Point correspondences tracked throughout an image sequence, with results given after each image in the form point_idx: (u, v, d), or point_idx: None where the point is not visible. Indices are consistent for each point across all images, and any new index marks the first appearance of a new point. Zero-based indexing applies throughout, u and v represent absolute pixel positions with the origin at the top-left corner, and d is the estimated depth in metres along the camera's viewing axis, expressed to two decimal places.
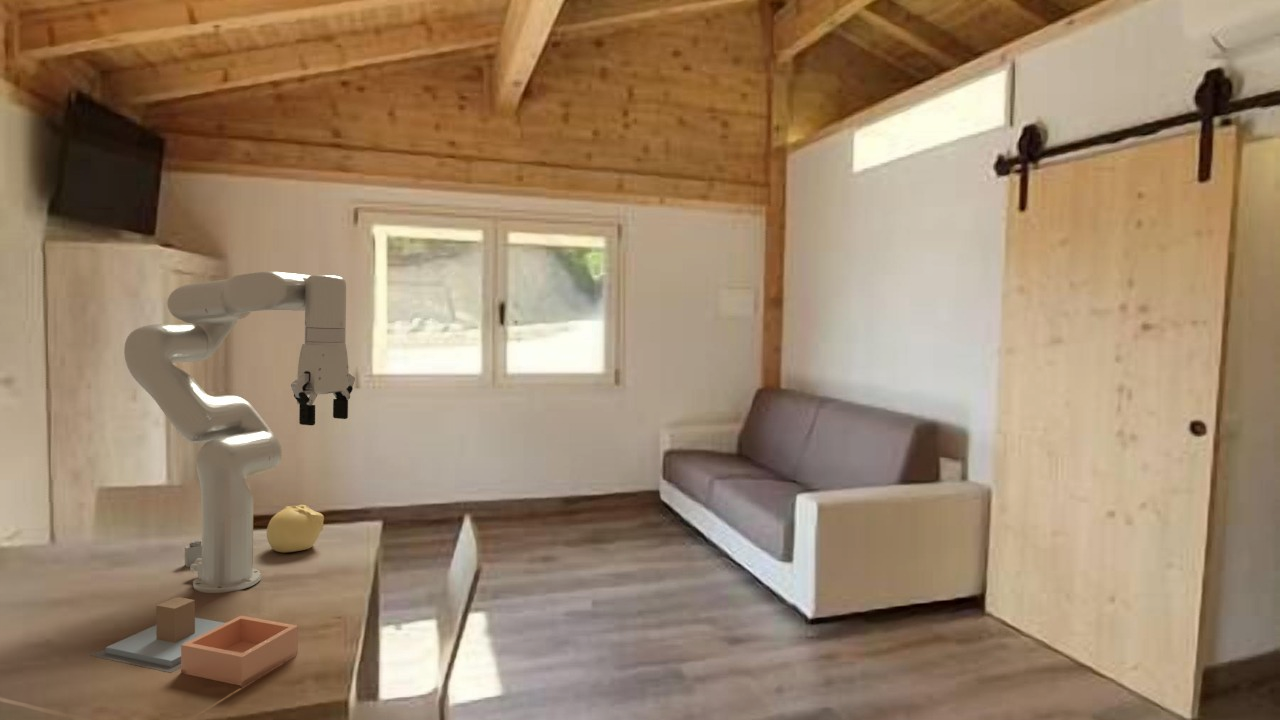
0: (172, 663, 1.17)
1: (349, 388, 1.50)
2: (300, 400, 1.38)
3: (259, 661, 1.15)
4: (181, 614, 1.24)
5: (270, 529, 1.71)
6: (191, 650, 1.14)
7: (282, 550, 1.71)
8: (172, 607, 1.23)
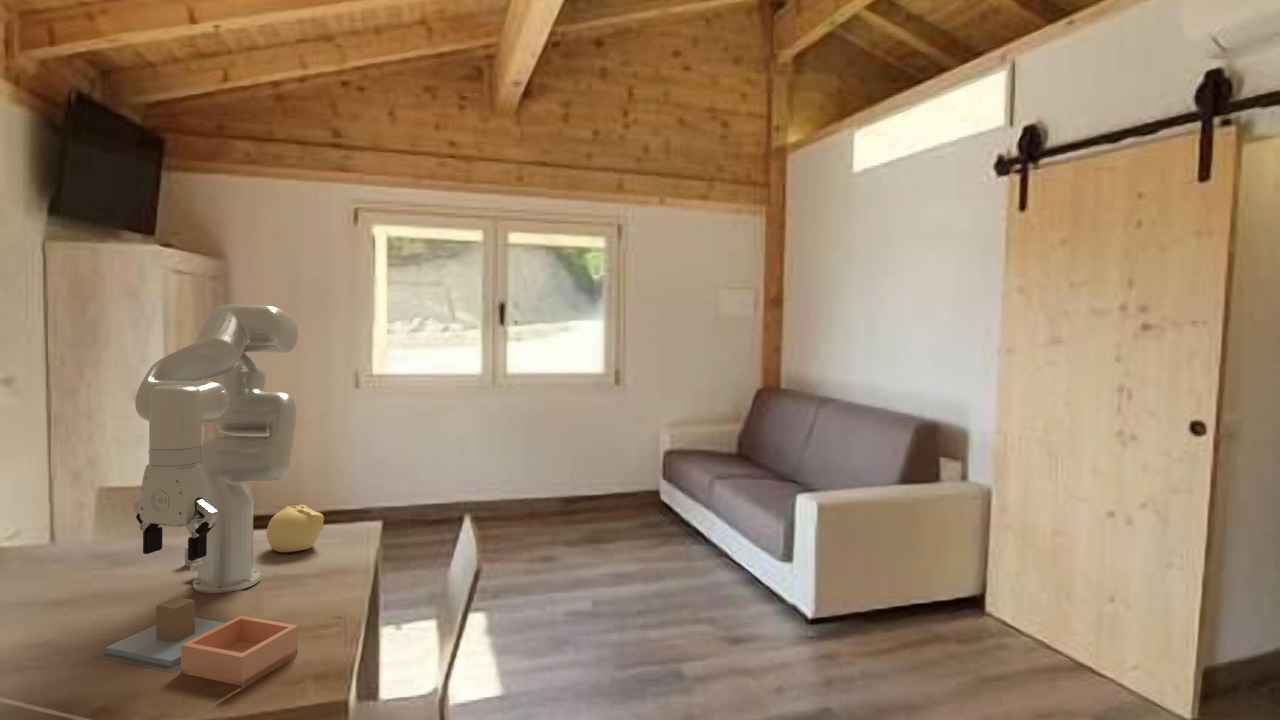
0: (172, 663, 1.17)
1: None
2: (206, 530, 1.22)
3: (259, 661, 1.15)
4: (181, 614, 1.24)
5: (270, 529, 1.71)
6: (191, 650, 1.14)
7: (282, 550, 1.71)
8: (172, 607, 1.23)
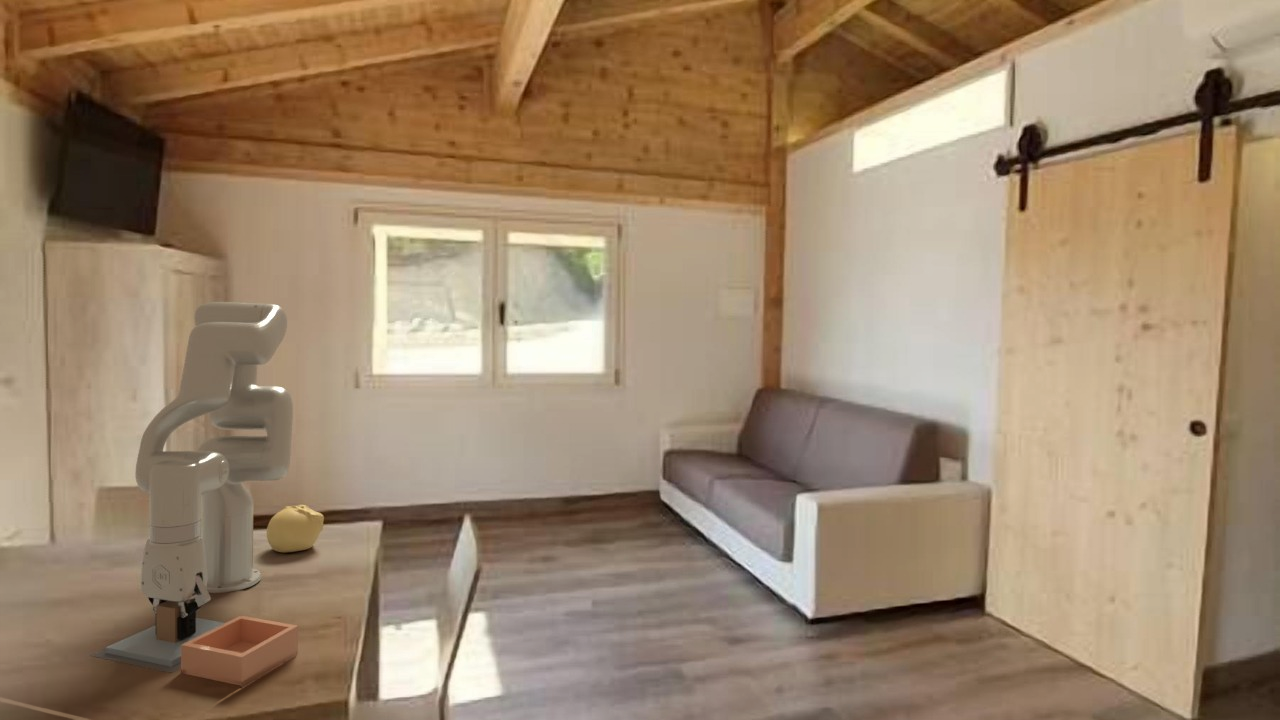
0: (172, 663, 1.17)
1: None
2: (195, 610, 1.24)
3: (259, 661, 1.15)
4: None
5: (270, 529, 1.71)
6: (191, 650, 1.14)
7: (282, 550, 1.71)
8: (172, 607, 1.23)
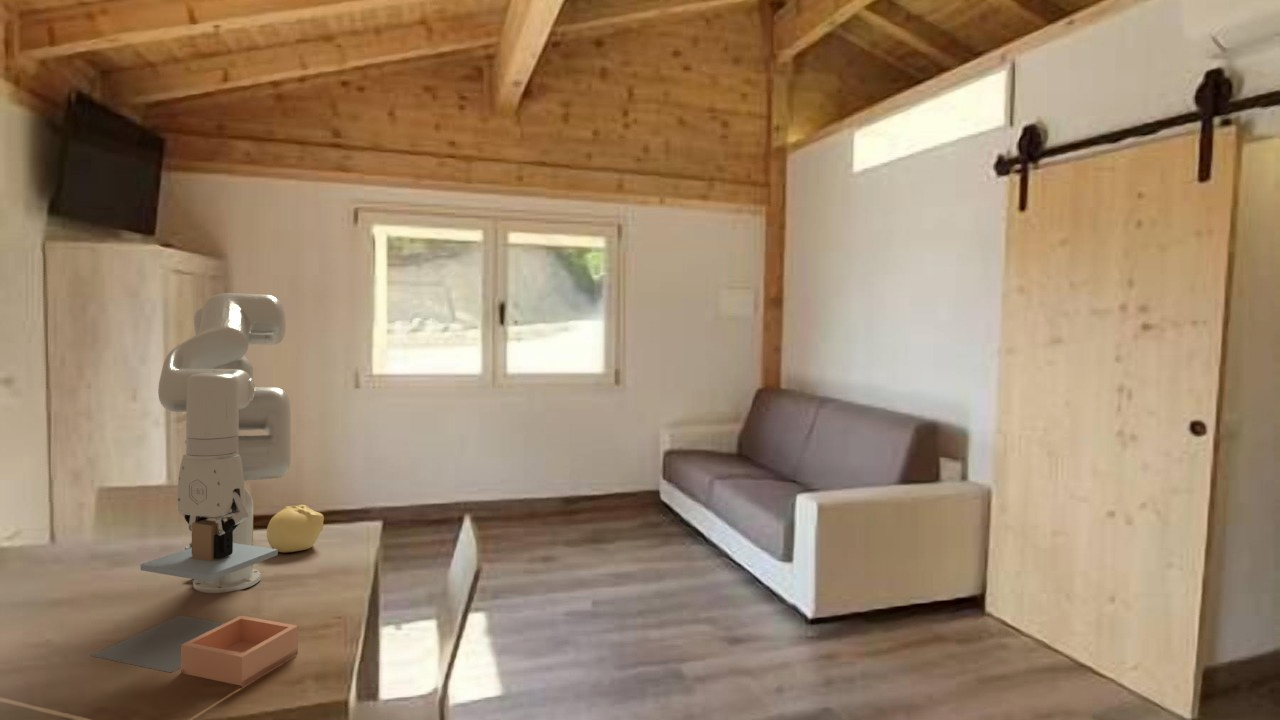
0: (209, 578, 1.12)
1: None
2: (232, 528, 1.19)
3: (259, 661, 1.15)
4: None
5: (270, 529, 1.71)
6: (191, 650, 1.14)
7: (282, 550, 1.71)
8: (208, 524, 1.18)
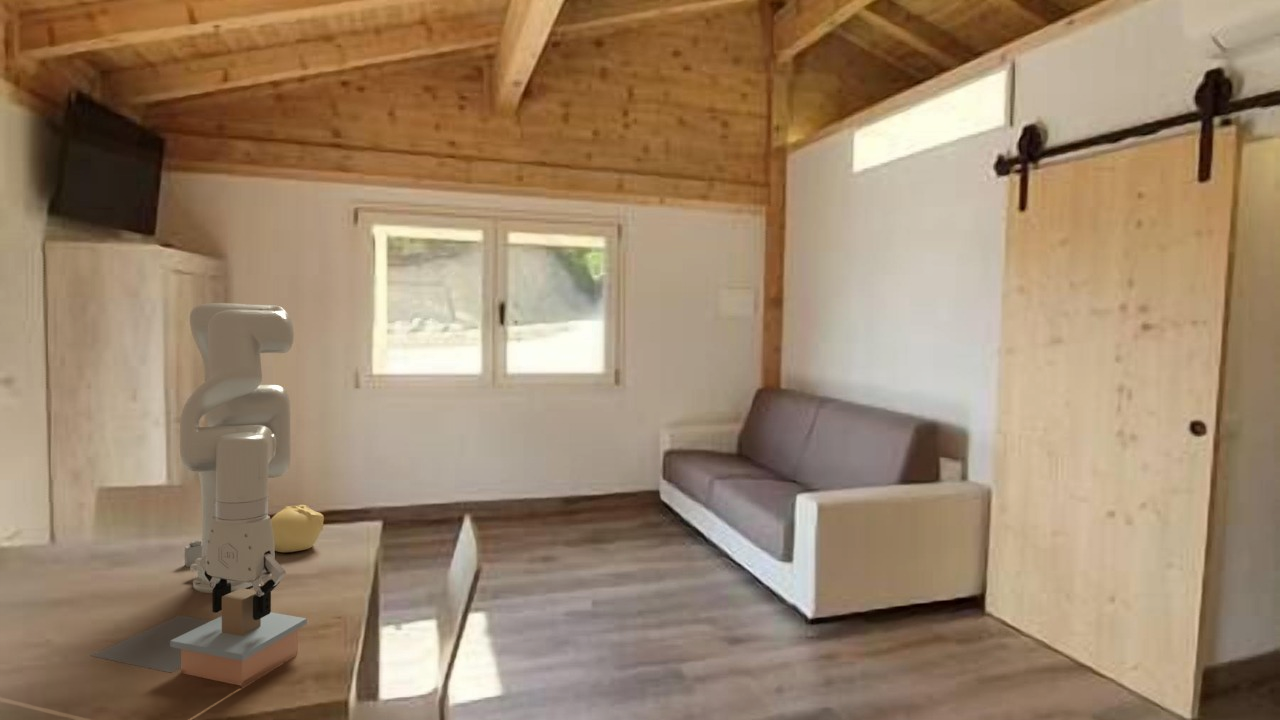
0: (243, 657, 1.10)
1: None
2: (271, 588, 1.17)
3: (259, 661, 1.15)
4: (248, 606, 1.17)
5: None
6: None
7: (282, 550, 1.71)
8: (239, 598, 1.16)
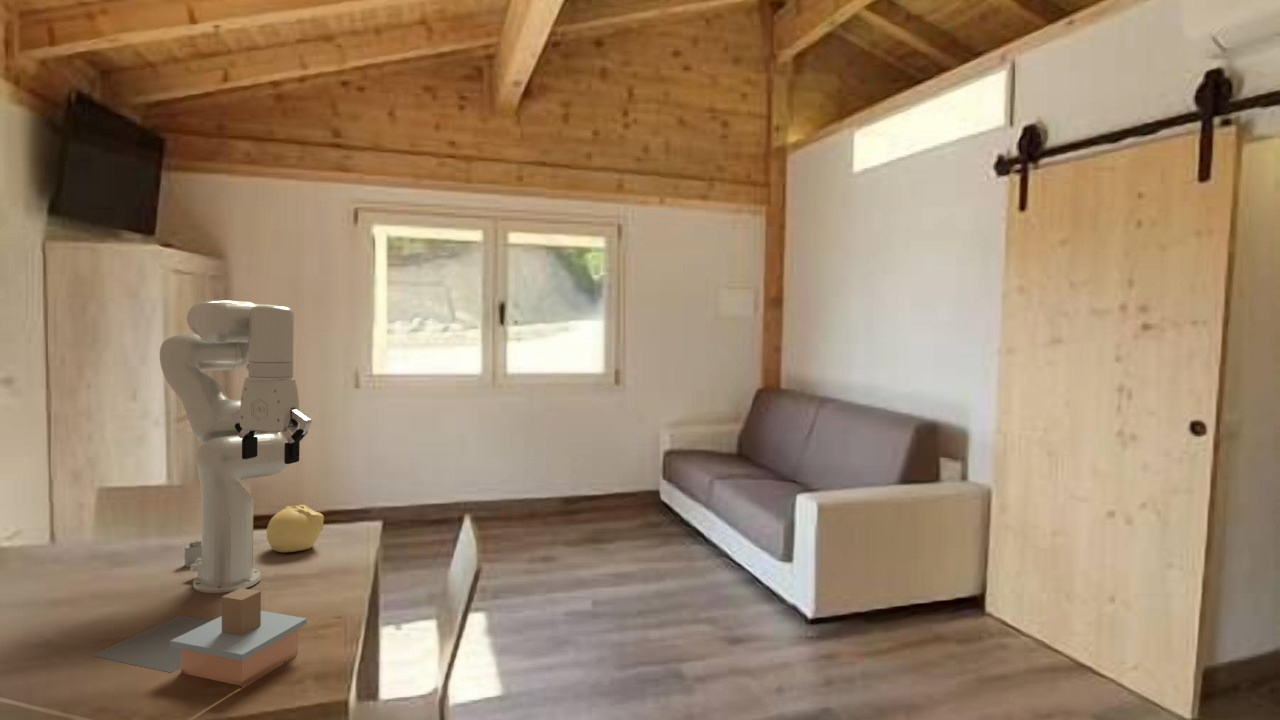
0: (243, 657, 1.10)
1: None
2: (300, 437, 1.34)
3: (259, 661, 1.15)
4: (248, 606, 1.17)
5: (270, 529, 1.71)
6: None
7: (282, 550, 1.71)
8: (239, 598, 1.16)
